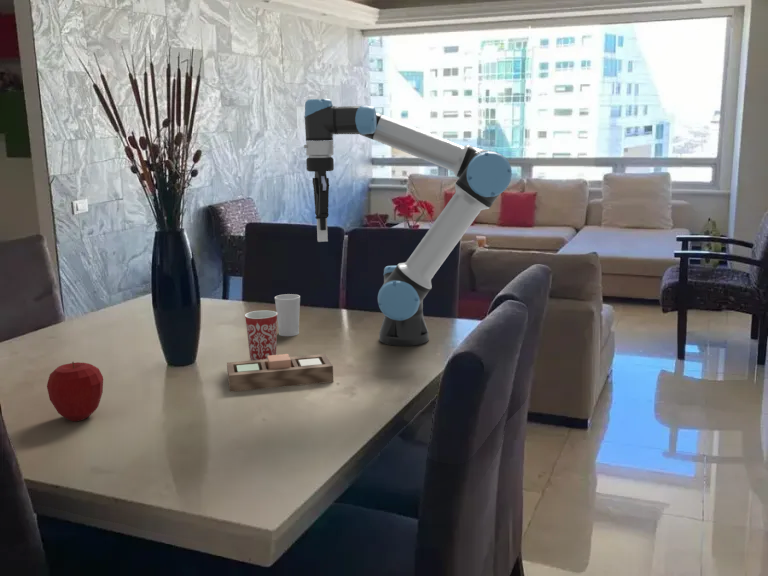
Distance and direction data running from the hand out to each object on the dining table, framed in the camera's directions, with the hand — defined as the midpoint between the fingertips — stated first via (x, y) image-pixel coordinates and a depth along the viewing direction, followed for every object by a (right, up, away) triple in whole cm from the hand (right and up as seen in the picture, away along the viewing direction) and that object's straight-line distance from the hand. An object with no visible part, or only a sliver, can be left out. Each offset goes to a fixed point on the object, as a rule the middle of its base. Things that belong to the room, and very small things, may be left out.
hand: (322, 241), depth 211 cm
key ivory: (-2, -36, -16) cm, 40 cm away
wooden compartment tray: (-10, -37, -18) cm, 42 cm away
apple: (-52, -43, -42) cm, 79 cm away
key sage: (-17, -37, -20) cm, 46 cm away
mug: (-16, -34, 0) cm, 37 cm away
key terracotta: (-10, -35, -19) cm, 41 cm away
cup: (-13, -28, +27) cm, 41 cm away
